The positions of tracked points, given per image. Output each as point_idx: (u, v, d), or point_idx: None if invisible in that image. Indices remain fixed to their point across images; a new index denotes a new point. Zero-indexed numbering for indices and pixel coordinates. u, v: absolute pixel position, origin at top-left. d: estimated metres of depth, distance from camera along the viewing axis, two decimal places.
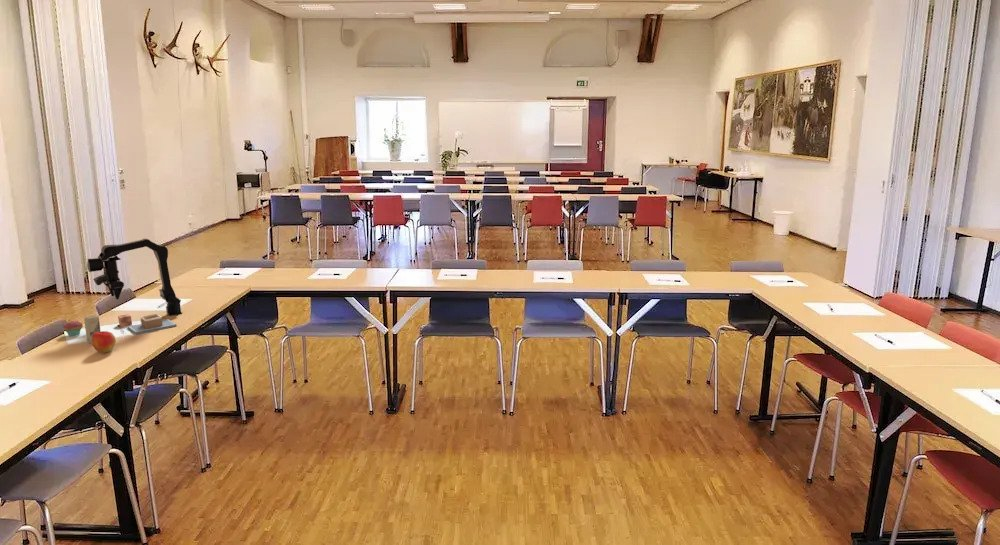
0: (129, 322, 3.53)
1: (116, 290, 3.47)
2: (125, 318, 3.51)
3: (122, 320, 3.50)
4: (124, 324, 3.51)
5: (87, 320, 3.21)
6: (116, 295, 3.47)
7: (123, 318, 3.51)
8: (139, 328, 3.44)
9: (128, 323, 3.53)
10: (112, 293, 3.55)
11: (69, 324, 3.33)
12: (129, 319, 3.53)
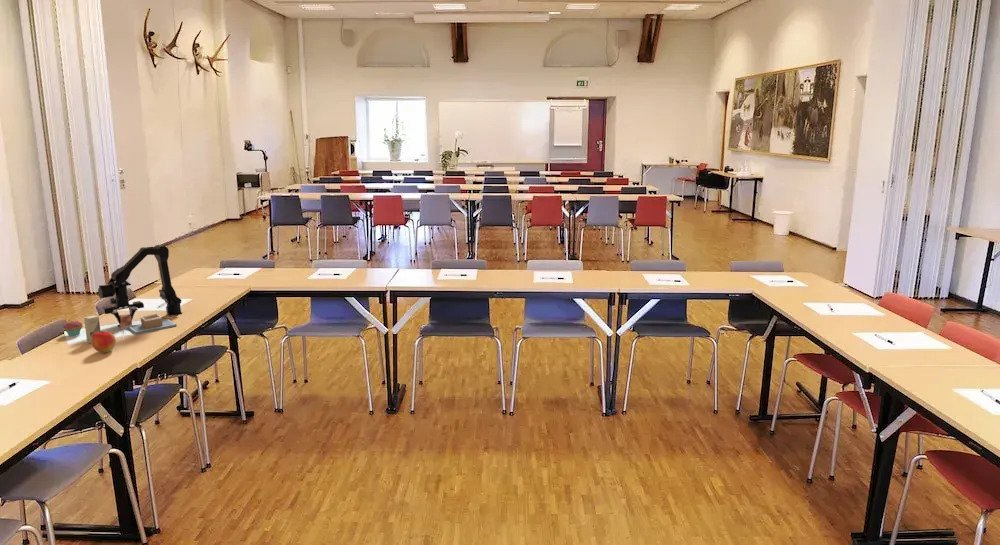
0: (129, 322, 3.53)
1: None
2: (125, 318, 3.51)
3: (122, 320, 3.50)
4: (124, 324, 3.51)
5: (87, 320, 3.21)
6: (117, 319, 3.51)
7: (123, 318, 3.51)
8: (139, 328, 3.44)
9: (128, 323, 3.53)
10: None
11: (69, 324, 3.33)
12: (129, 319, 3.53)
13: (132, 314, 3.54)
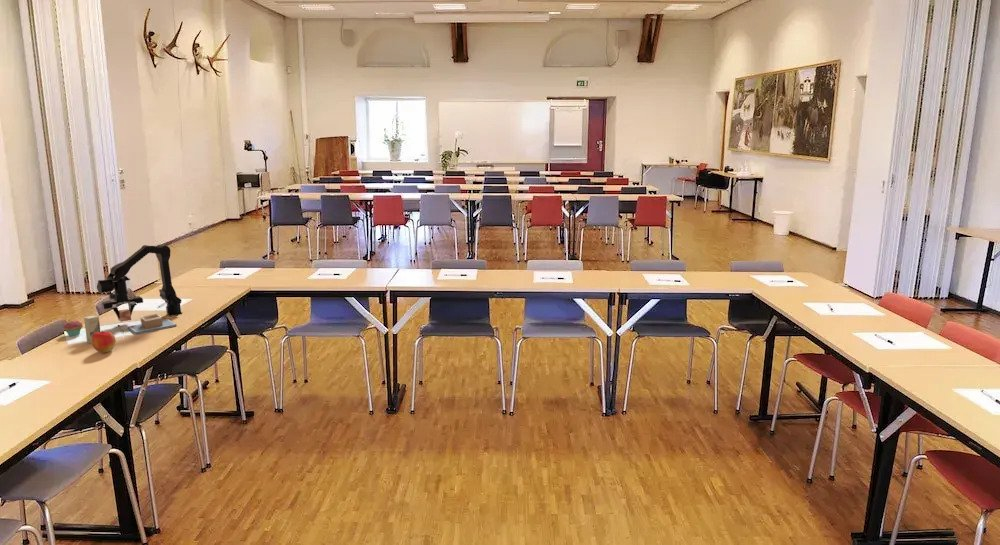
0: (128, 317, 3.52)
1: None
2: (124, 313, 3.51)
3: (121, 315, 3.50)
4: (123, 319, 3.50)
5: (87, 320, 3.21)
6: (116, 314, 3.51)
7: (122, 313, 3.50)
8: (139, 328, 3.44)
9: (127, 318, 3.52)
10: None
11: (69, 324, 3.33)
12: (128, 314, 3.52)
13: (131, 309, 3.53)
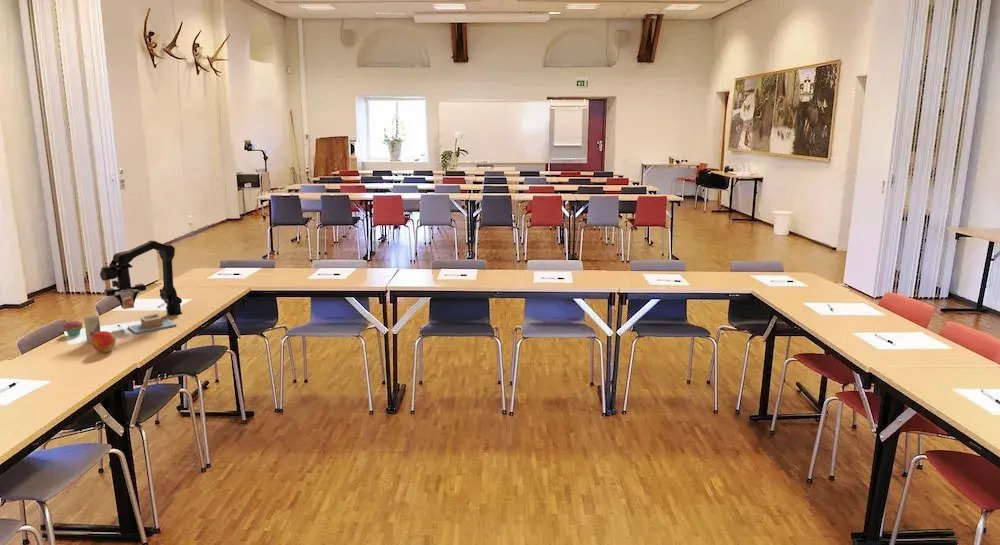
0: (131, 305, 3.50)
1: (118, 297, 3.47)
2: (127, 300, 3.48)
3: (124, 302, 3.47)
4: (126, 306, 3.48)
5: (87, 320, 3.21)
6: (119, 302, 3.48)
7: (125, 300, 3.48)
8: (139, 328, 3.44)
9: (130, 305, 3.50)
10: None
11: (69, 324, 3.33)
12: (131, 301, 3.50)
13: (134, 297, 3.51)
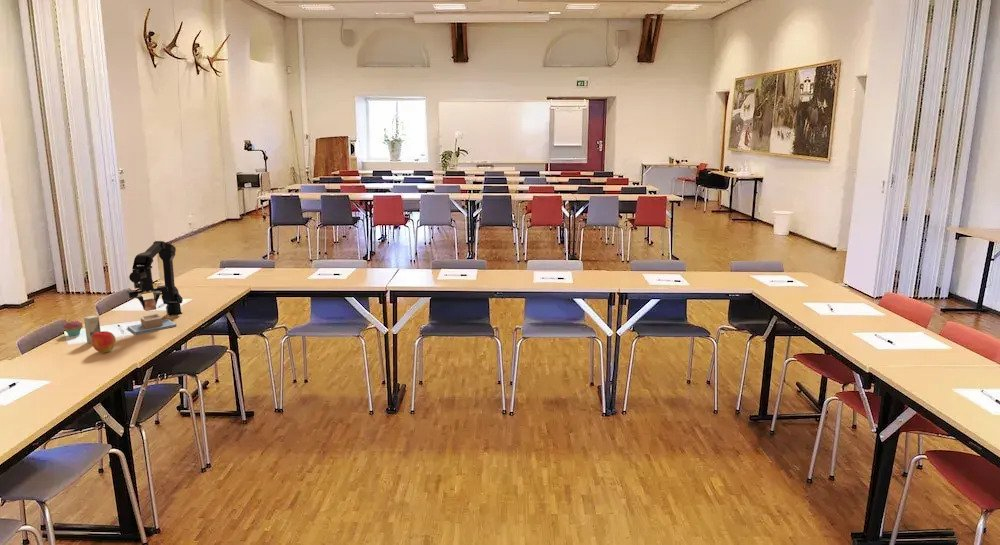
0: (153, 306, 3.46)
1: (140, 299, 3.43)
2: (149, 302, 3.44)
3: (146, 304, 3.43)
4: (148, 308, 3.44)
5: (87, 320, 3.21)
6: (141, 304, 3.44)
7: (147, 302, 3.44)
8: (139, 328, 3.44)
9: (152, 307, 3.46)
10: None
11: (69, 324, 3.33)
12: (153, 303, 3.46)
13: (156, 298, 3.47)
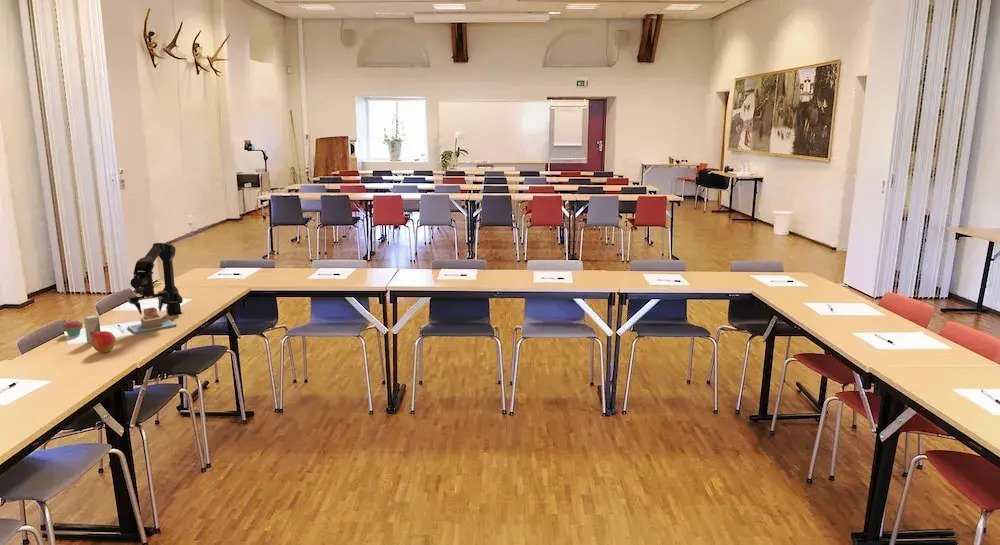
0: (155, 315, 3.47)
1: (137, 305, 3.43)
2: (151, 311, 3.45)
3: (148, 313, 3.45)
4: (149, 317, 3.45)
5: (87, 320, 3.21)
6: (138, 310, 3.44)
7: (149, 311, 3.45)
8: (139, 328, 3.44)
9: (154, 316, 3.47)
10: (159, 308, 3.50)
11: (69, 324, 3.33)
12: (155, 312, 3.47)
13: (161, 303, 3.49)
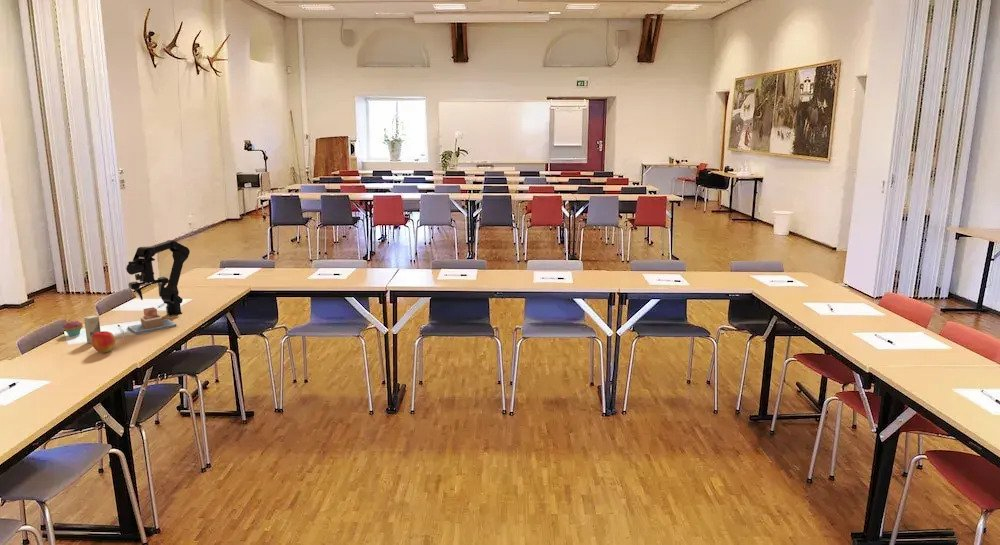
0: (155, 315, 3.47)
1: (138, 291, 3.53)
2: (151, 311, 3.45)
3: (148, 313, 3.45)
4: (149, 317, 3.45)
5: (87, 320, 3.21)
6: (139, 296, 3.54)
7: (149, 311, 3.45)
8: (139, 328, 3.44)
9: (154, 316, 3.47)
10: (159, 293, 3.61)
11: (69, 324, 3.33)
12: (155, 312, 3.47)
13: (161, 289, 3.59)
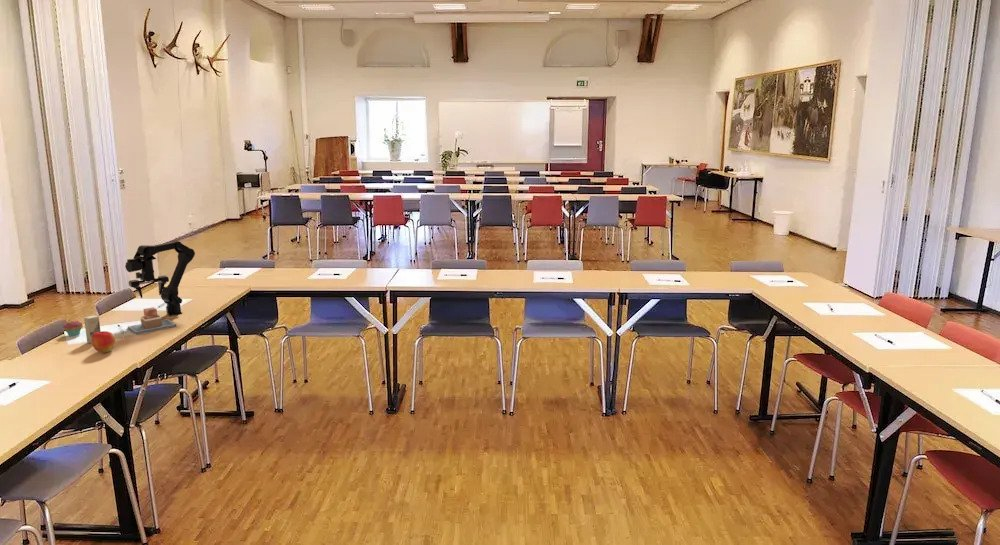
0: (155, 315, 3.47)
1: None
2: (151, 311, 3.45)
3: (148, 313, 3.45)
4: (149, 317, 3.45)
5: (87, 320, 3.21)
6: (139, 294, 3.57)
7: (149, 311, 3.45)
8: (139, 328, 3.44)
9: (154, 316, 3.47)
10: (159, 292, 3.63)
11: (69, 324, 3.33)
12: (155, 312, 3.47)
13: (161, 287, 3.61)
